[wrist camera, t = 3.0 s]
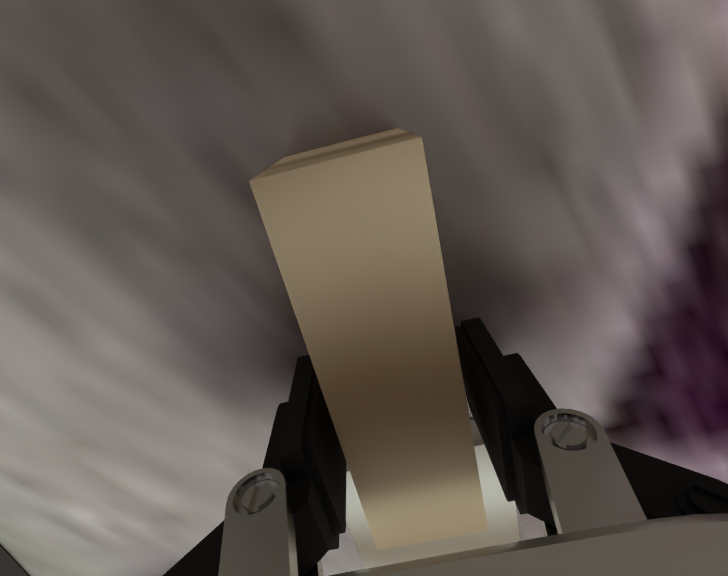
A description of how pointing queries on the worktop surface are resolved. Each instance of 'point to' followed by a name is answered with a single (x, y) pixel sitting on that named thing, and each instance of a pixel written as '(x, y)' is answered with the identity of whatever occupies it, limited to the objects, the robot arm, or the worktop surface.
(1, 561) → the mat
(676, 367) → the worktop surface
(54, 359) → the worktop surface
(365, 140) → the beige curved piece
